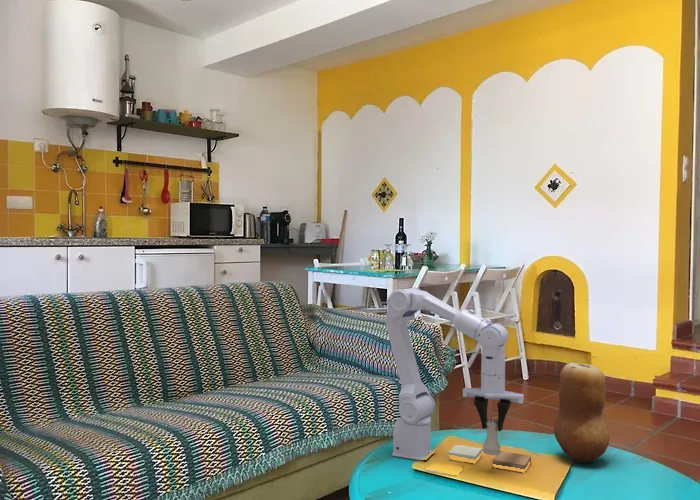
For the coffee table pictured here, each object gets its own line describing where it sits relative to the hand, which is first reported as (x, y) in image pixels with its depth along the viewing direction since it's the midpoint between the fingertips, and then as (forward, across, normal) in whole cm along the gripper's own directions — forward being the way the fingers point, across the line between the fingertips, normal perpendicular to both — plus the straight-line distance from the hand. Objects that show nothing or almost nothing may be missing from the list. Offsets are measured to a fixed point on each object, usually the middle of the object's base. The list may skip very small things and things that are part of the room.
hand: (492, 428), depth 150 cm
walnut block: (+10, +4, +6) cm, 13 cm away
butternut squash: (+11, +18, +20) cm, 29 cm away
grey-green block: (+10, -8, +6) cm, 15 cm away
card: (+10, -10, -5) cm, 15 cm away
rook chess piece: (+6, 0, 0) cm, 6 cm away
